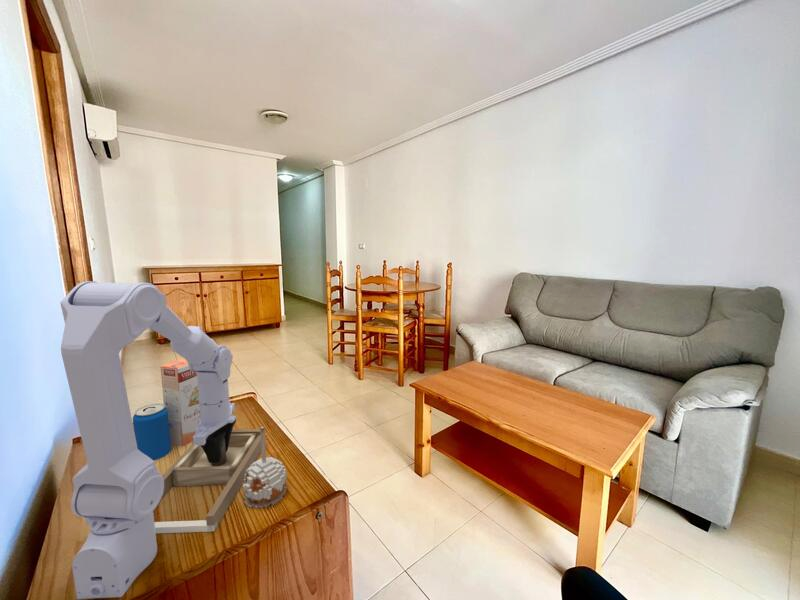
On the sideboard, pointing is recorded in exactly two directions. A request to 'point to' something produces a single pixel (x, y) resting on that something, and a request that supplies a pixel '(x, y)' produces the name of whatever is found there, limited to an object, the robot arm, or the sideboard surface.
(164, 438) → the beverage can
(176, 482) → the beige shallow open box
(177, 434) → the cracker box
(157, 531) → the bay
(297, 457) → the sideboard surface
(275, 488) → the decorative ornament
